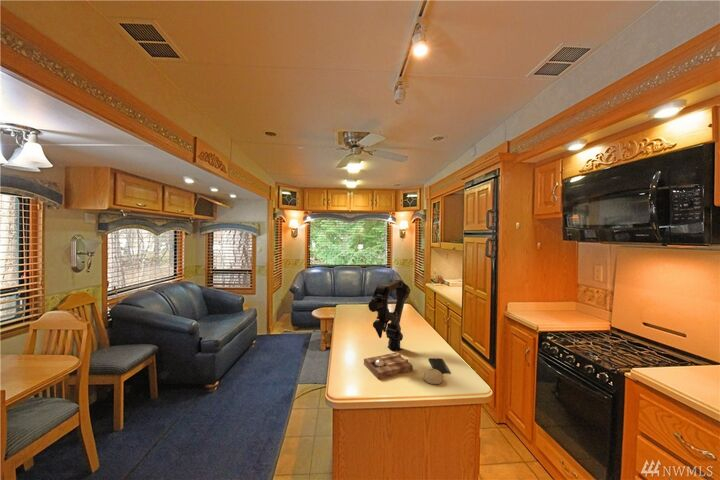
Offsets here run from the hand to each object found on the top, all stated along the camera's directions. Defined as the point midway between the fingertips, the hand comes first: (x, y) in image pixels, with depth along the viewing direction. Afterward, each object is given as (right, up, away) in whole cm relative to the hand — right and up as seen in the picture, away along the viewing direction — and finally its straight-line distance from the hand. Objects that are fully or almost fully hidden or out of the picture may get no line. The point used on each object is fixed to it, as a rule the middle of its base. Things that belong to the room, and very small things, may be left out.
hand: (382, 334), depth 153 cm
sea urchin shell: (+22, -14, -23) cm, 35 cm away
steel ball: (-3, -11, -14) cm, 18 cm away
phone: (+29, -14, -9) cm, 34 cm away
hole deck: (+2, -13, -12) cm, 18 cm away
